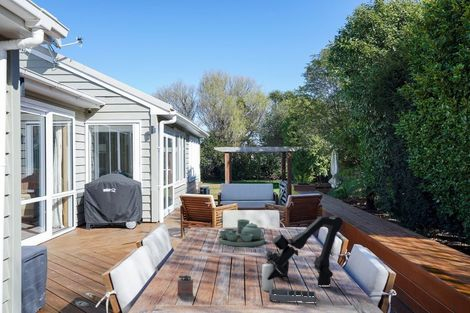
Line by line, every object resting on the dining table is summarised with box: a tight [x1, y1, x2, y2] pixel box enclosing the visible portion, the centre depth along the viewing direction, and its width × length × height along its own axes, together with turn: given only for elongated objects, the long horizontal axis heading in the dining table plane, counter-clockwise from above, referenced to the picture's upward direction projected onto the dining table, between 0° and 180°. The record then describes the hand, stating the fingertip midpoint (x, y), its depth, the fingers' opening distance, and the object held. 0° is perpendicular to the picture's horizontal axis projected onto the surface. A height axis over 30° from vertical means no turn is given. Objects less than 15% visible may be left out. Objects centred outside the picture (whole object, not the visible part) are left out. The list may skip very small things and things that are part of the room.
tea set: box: [217, 218, 266, 248], centre depth 332 cm, size 40×40×16 cm
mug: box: [275, 259, 290, 279], centre depth 232 cm, size 12×9×10 cm
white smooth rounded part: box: [261, 263, 274, 292], centre depth 210 cm, size 6×6×13 cm
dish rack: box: [268, 288, 317, 303], centre depth 196 cm, size 23×10×4 cm, turn 82°
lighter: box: [176, 274, 194, 297], centre depth 199 cm, size 8×3×10 cm, turn 92°
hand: (265, 277), depth 209 cm, fingers open, 9 cm apart
